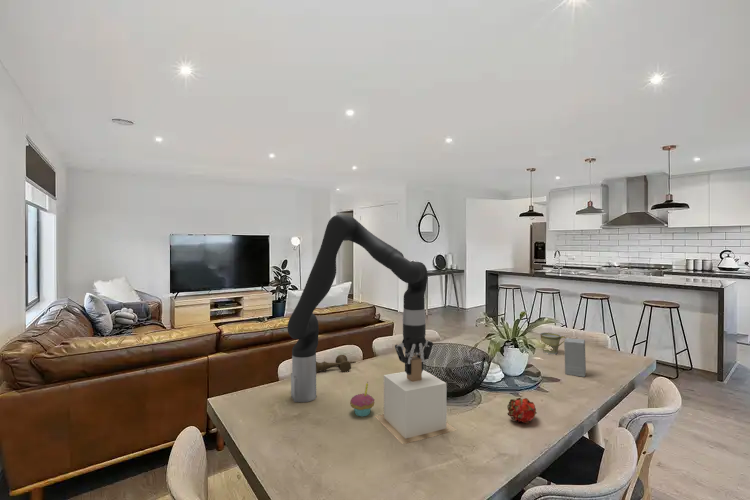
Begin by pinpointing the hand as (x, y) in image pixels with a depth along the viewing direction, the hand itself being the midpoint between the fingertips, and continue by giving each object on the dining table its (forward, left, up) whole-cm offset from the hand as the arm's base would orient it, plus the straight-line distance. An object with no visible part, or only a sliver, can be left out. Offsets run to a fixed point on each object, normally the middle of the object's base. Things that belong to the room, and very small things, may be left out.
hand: (414, 373), depth 126 cm
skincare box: (+91, +10, -18) cm, 93 cm away
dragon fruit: (+35, -13, -18) cm, 41 cm away
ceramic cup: (+109, +37, -18) cm, 116 cm away
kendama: (-7, +62, -18) cm, 65 cm away
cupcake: (-13, +14, -18) cm, 26 cm away
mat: (0, 0, -17) cm, 17 cm away
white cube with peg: (0, 0, -17) cm, 17 cm away
